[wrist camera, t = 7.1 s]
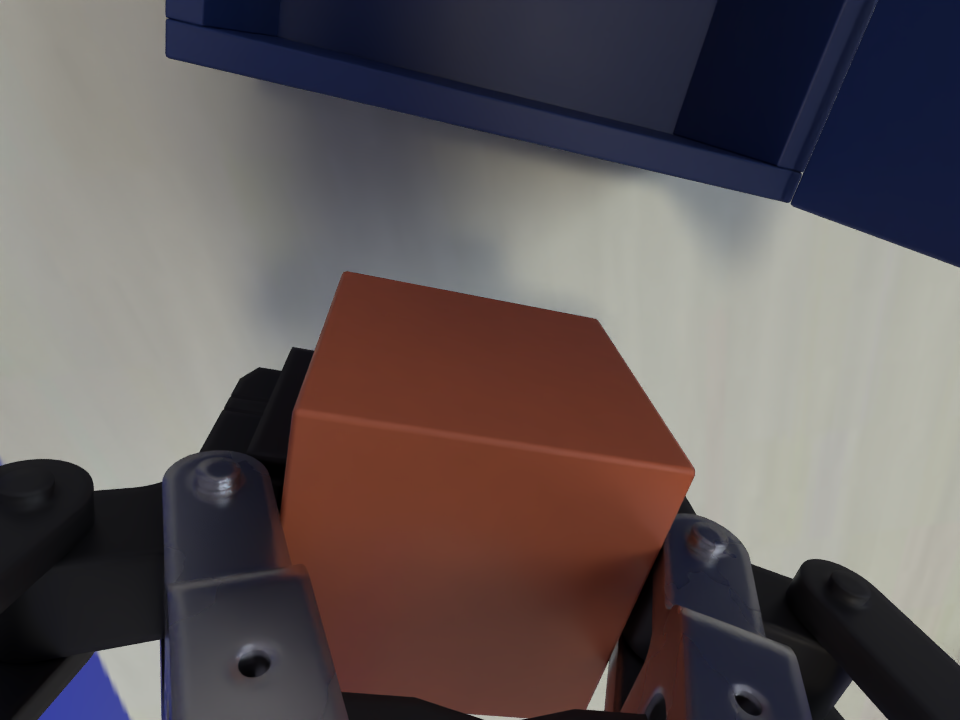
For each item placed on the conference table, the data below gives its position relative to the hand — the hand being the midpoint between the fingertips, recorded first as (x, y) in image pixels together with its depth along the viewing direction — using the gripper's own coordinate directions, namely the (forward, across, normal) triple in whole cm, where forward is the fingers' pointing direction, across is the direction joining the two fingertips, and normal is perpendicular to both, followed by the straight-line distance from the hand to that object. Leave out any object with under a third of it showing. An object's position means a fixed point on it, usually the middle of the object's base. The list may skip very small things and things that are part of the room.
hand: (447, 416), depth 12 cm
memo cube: (0, 0, 0) cm, 0 cm away
